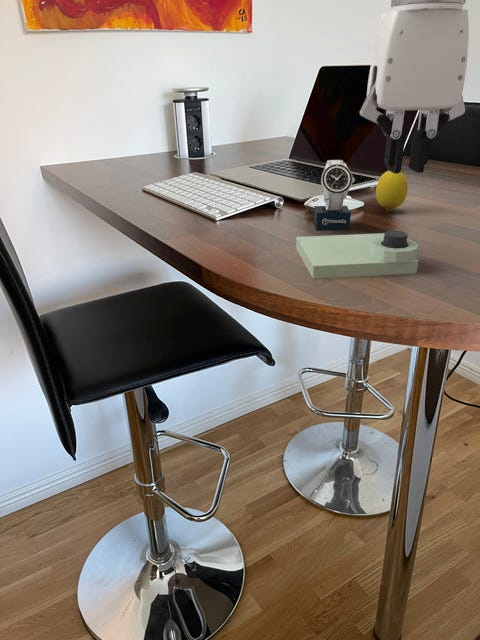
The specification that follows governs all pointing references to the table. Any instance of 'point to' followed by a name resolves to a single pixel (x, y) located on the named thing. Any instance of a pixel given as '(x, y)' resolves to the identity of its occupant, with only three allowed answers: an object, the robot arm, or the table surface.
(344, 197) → the watch
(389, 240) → the button
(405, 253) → the scale
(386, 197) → the lemon
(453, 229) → the table surface
